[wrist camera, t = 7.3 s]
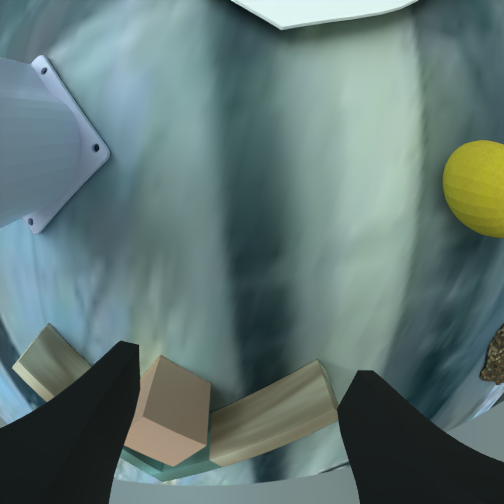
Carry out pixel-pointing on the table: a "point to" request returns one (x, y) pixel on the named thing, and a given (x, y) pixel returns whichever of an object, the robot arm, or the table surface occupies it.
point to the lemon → (477, 186)
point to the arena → (219, 422)
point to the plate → (318, 10)
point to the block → (170, 413)
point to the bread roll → (495, 359)
